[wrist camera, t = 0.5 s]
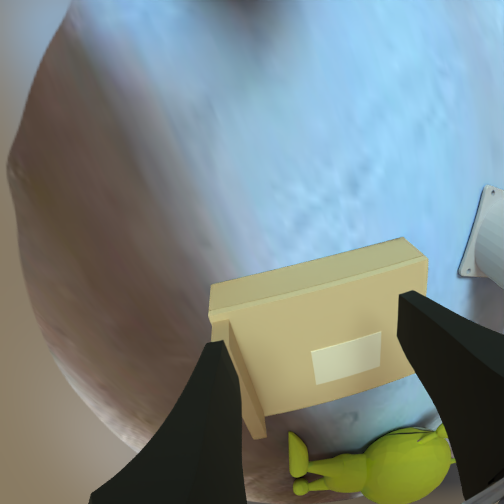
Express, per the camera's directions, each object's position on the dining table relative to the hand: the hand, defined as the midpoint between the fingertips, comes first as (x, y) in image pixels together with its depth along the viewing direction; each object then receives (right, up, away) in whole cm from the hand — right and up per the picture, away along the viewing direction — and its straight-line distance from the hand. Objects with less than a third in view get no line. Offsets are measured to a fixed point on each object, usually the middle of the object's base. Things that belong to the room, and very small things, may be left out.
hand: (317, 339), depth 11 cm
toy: (+17, -22, +23) cm, 36 cm away
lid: (+3, -4, +10) cm, 11 cm away
